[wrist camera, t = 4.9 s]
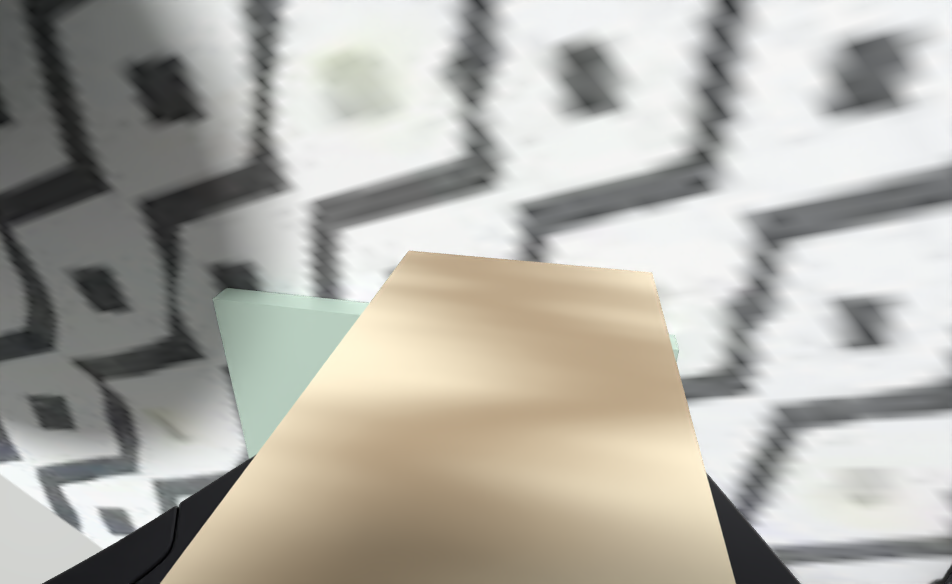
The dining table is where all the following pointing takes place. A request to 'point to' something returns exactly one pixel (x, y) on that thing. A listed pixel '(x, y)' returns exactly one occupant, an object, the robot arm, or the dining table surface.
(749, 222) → the dining table surface
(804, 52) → the dining table surface
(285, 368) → the socket board
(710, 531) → the birch peg
